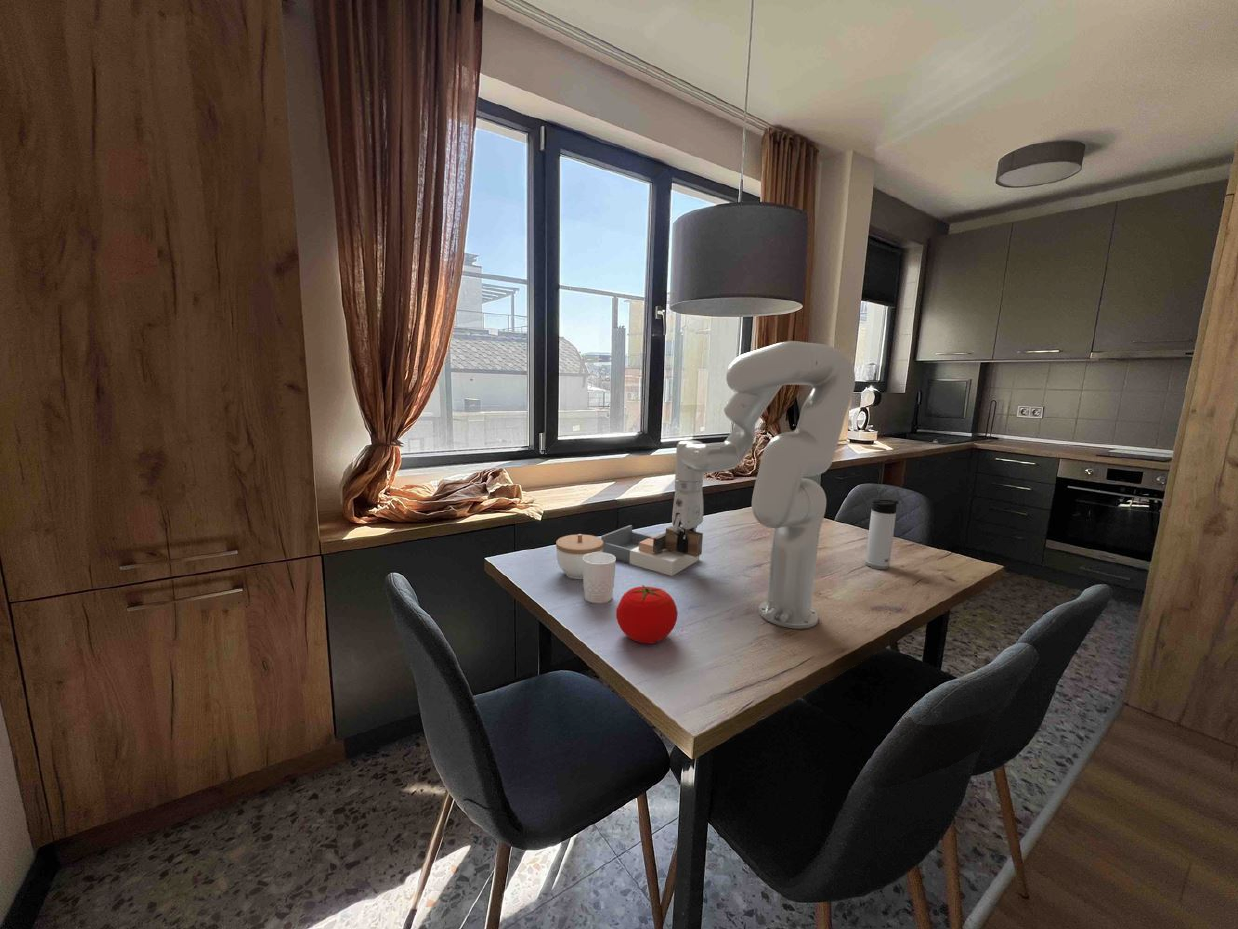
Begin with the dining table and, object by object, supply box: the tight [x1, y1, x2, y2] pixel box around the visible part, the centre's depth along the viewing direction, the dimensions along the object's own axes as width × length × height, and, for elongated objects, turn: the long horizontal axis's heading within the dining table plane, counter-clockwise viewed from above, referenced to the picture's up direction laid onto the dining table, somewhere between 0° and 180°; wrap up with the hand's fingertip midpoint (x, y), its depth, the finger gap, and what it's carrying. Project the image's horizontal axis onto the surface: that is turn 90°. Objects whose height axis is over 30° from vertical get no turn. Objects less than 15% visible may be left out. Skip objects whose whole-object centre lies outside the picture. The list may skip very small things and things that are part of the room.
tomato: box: [615, 584, 678, 644], centre depth 98 cm, size 11×12×10 cm
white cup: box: [582, 552, 617, 604], centre depth 115 cm, size 8×8×10 cm
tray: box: [600, 524, 654, 565], centre depth 147 cm, size 15×10×6 cm
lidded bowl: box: [555, 533, 604, 580], centre depth 129 cm, size 13×13×11 cm
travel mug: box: [864, 499, 900, 570], centre depth 140 cm, size 6×7×20 cm
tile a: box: [639, 538, 662, 554], centre depth 138 cm, size 5×5×2 cm
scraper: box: [653, 525, 704, 557], centre depth 135 cm, size 12×11×6 cm
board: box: [629, 546, 700, 577], centre depth 140 cm, size 16×14×4 cm
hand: (685, 549), depth 135 cm, fingers closed on scraper, 3 cm apart
